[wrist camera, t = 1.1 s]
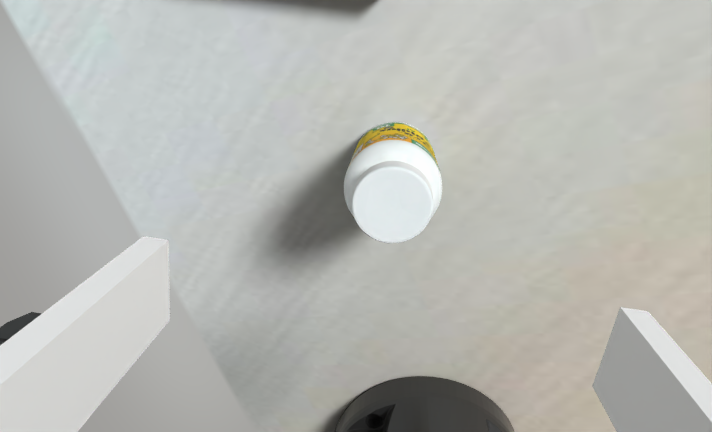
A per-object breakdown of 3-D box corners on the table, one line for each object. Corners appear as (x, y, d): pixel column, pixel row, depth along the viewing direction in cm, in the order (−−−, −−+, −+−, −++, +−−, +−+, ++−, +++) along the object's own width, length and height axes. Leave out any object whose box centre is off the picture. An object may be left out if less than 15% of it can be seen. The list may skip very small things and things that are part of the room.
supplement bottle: (342, 179, 34) (319, 230, 25) (373, 106, 32) (362, 133, 23) (413, 210, 34) (417, 272, 25) (449, 140, 32) (466, 180, 23)
